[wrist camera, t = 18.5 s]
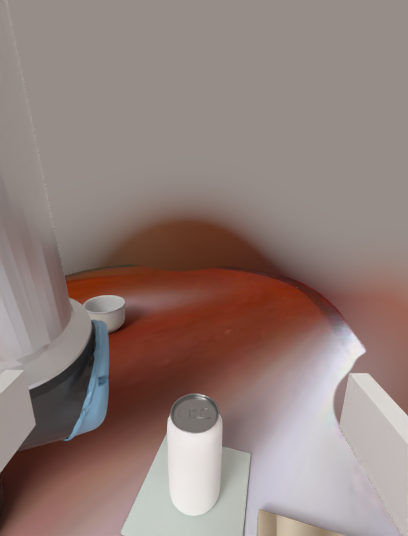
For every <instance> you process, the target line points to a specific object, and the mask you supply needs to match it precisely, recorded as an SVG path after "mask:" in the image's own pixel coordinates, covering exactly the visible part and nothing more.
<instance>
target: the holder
mask: <svg viewBox="0 0 408 536" xmlns="http://www.w3.org/2000/svg"><path fill="white" fill-rule="evenodd" d="M257 536H345V535H342V534H339V533H336V532H332V531H329V530H326V529H322V528H319V527H316V526H313V525H309V524H306V523H303V522H299V521H296V520H293V519H290V518H286V517H283V516H280V515H276V514H273V513H270V512H266V511H263V510H260V509H259V511H258V524H257Z"/></svg>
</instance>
